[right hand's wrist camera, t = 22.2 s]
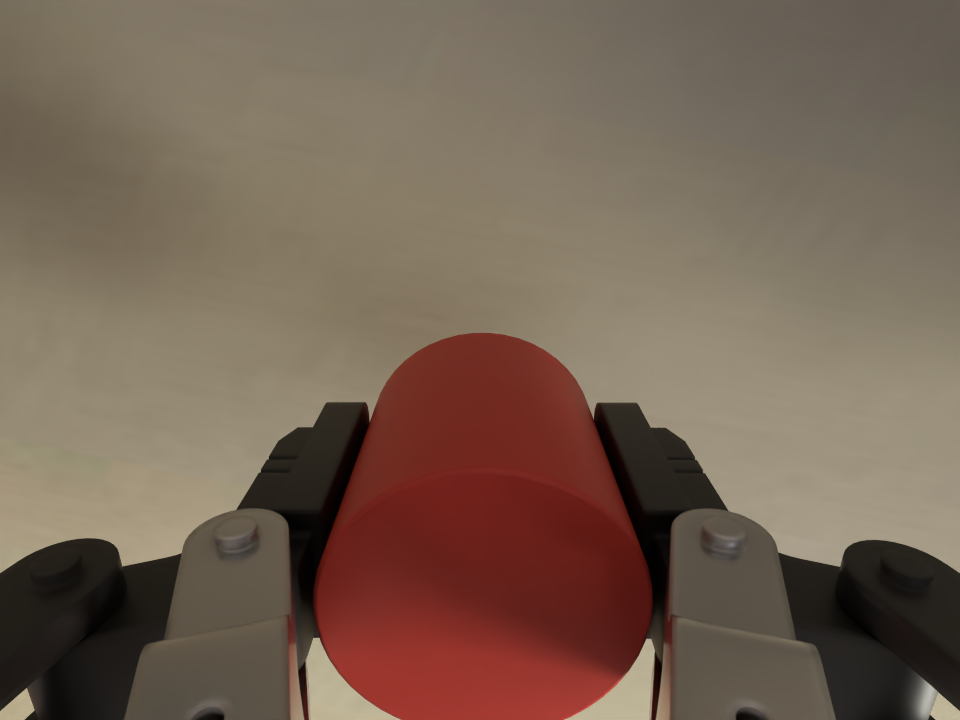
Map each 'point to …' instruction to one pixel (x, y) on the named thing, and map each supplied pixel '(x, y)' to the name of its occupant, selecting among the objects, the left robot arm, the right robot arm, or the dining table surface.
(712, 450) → the dining table surface
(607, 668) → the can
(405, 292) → the dining table surface
